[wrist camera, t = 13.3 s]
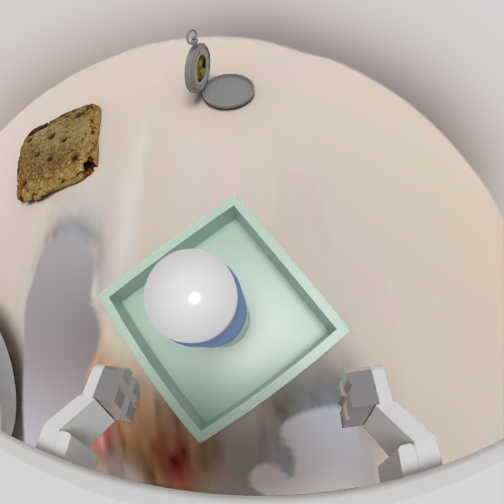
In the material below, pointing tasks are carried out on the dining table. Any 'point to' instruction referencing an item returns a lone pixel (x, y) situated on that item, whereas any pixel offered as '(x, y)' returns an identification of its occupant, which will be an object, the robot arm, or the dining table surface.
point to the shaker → (196, 300)
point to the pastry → (59, 153)
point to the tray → (255, 340)
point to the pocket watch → (214, 79)
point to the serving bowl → (6, 391)
